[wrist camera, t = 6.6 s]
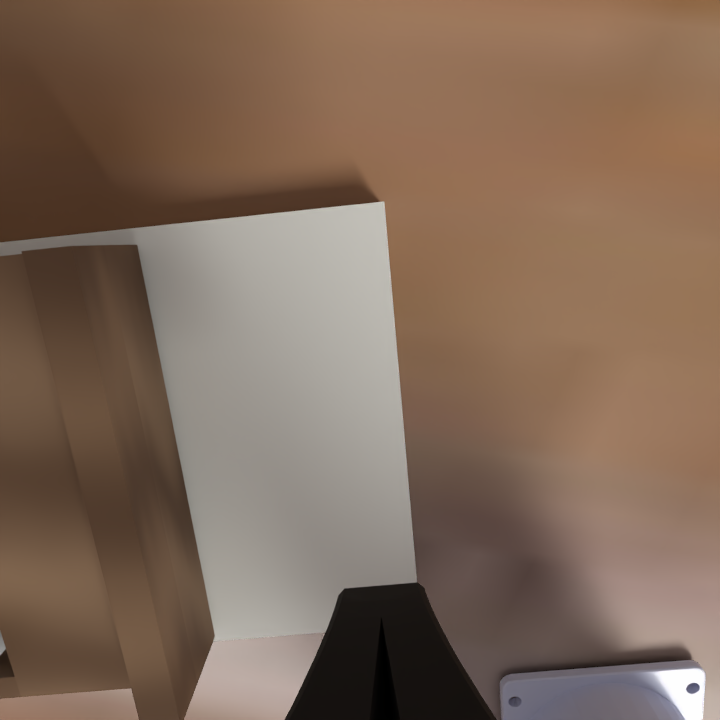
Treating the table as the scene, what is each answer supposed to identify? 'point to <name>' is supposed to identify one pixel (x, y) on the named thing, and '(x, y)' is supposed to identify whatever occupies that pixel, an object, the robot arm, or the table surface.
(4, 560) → the brown rectangular box
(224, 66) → the table surface
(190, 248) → the board
